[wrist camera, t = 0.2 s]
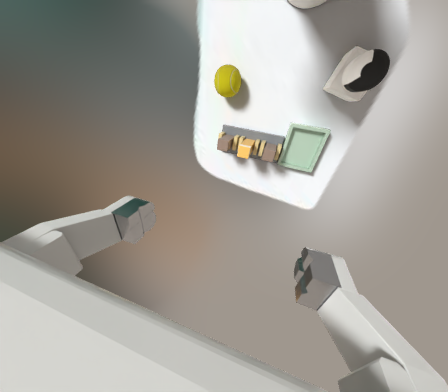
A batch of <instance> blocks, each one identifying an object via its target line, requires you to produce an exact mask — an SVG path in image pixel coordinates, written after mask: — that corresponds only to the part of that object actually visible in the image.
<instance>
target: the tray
mask: <svg viewBox="0 0 448 392" xmlns="http://www.w3.org/2000/svg"><path fill="white" fill-rule="evenodd" d="M330 131H331V130H329V129H324V128H319V127H313V126H308V125H302V124H297V123H291V124H290V127H289V130H288V133H287V136H286V139H285V142H284V145H283V148H282V151H281V154H280V157H279V160H278V164H277V165H280V166H284V167H288V168H293V169H297V170H301V171H306V172H310V173H311V172H312V170H313V167H314V165H315V163H316V161H317V159H318V157H319V155H320V153H321V150H322V148H323V146H324V144H325V142H326V140H327V138H328V135H329V133H330Z"/></svg>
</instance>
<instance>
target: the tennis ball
mask: <svg viewBox="0 0 448 392" xmlns="http://www.w3.org/2000/svg"><path fill="white" fill-rule="evenodd" d="M214 82H215V88H216V90H217V92H218V93H219V94H220V95H221V96H223V97H232V96H234V95H236V94H237V93H238V91H239V89H240V86H241V76H240V73H239V70H238V69H237V68H236V67H234V66H232V65H224V66H222V67H220V68H219V69H218V70H217V72H216V74H215V80H214Z"/></svg>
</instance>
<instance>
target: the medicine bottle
mask: <svg viewBox="0 0 448 392" xmlns="http://www.w3.org/2000/svg"><path fill="white" fill-rule="evenodd" d="M389 65H390V59H389V56H388V54H387V53H386V52H385V51H383V50H380V49H373V50H370V51H367V50H365V49H363V48H361V47H359V46H356V47H354V48H353V49H352V50H350V51H349V52H348V53H346V54H345V55H344V56H343V58H342V59H341V61H340V62H339V64H338V66H337V67H336V69H335V70H334V72H333V73H332V75H331V77H330V78H329V80H328V81H327V83H326V84H325V86H324V88H323V90H324V91H326V92H329V93H331V94H333V95H335V96H337V97H339V98H341V99H343V100H345V101H347V102H351V101H360V100H361V99H362V97H363V96H364V95H365V94H366V92H367V91H368V90H369V89H371V88H373V87H375V86H376V85H377V84H379V83H380V82H381V81H382V79H383V78H384V77H385V75H386V74H387V72H388V69H389Z"/></svg>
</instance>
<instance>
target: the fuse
mask: <svg viewBox="0 0 448 392" xmlns="http://www.w3.org/2000/svg"><path fill="white" fill-rule="evenodd" d="M254 145H255V140H251V139H247V138H246V139H245V140H244V141H243V142H242V143H241V144H240V145H239V148H238V153H237V157H241V158H246V159H248V158H249V156H250V154H251V153H252V151H253V149H254Z"/></svg>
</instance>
